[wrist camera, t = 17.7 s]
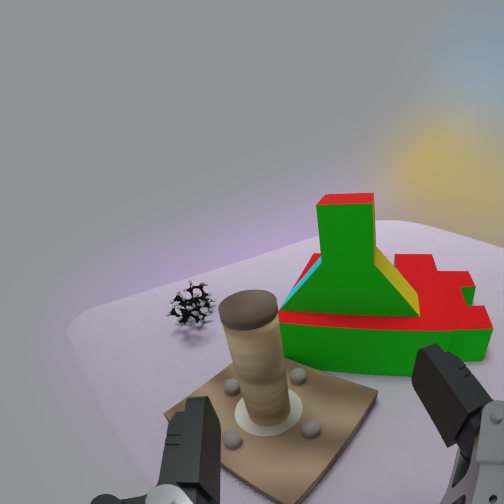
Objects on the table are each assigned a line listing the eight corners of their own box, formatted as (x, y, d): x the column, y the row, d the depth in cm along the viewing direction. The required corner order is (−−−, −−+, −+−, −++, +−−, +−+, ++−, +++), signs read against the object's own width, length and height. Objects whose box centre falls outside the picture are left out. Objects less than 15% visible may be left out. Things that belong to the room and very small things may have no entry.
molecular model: (187, 312, 52) (191, 278, 52) (218, 318, 52) (222, 283, 52) (154, 334, 37) (158, 287, 37) (196, 343, 36) (201, 295, 36)
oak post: (266, 388, 27) (245, 285, 23) (299, 404, 24) (288, 296, 20) (238, 414, 24) (206, 310, 20) (272, 433, 22) (249, 327, 17)
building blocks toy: (484, 376, 22) (525, 212, 15) (278, 366, 33) (254, 214, 26) (460, 292, 37) (469, 177, 31) (316, 289, 48) (305, 180, 42)
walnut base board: (256, 354, 35) (253, 338, 34) (376, 400, 24) (379, 383, 23) (168, 422, 26) (159, 407, 25) (292, 512, 15) (289, 503, 14)
